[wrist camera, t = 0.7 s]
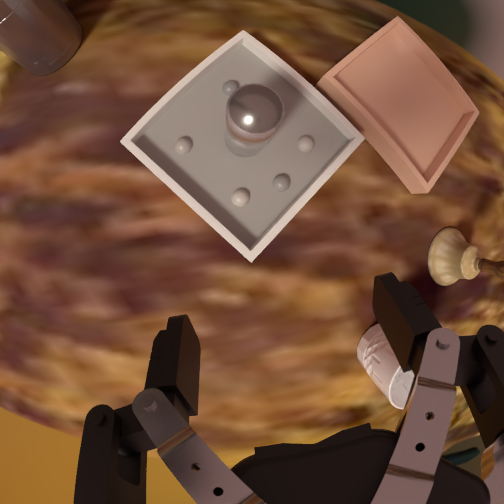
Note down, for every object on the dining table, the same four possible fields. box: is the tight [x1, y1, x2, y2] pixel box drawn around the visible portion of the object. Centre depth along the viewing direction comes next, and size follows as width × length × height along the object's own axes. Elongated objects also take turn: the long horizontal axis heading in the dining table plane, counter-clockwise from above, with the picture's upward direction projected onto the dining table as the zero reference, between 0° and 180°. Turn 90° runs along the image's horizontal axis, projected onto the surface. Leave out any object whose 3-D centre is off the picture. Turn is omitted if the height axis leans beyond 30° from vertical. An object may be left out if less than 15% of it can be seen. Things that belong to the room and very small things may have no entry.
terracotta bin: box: [314, 16, 479, 194], centre depth 31 cm, size 18×18×4 cm
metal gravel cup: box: [224, 83, 285, 158], centre depth 25 cm, size 4×4×9 cm
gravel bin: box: [120, 30, 365, 262], centre depth 30 cm, size 18×18×4 cm
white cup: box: [357, 323, 414, 409], centre depth 32 cm, size 8×8×10 cm
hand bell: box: [428, 227, 504, 286], centre depth 29 cm, size 8×8×16 cm
